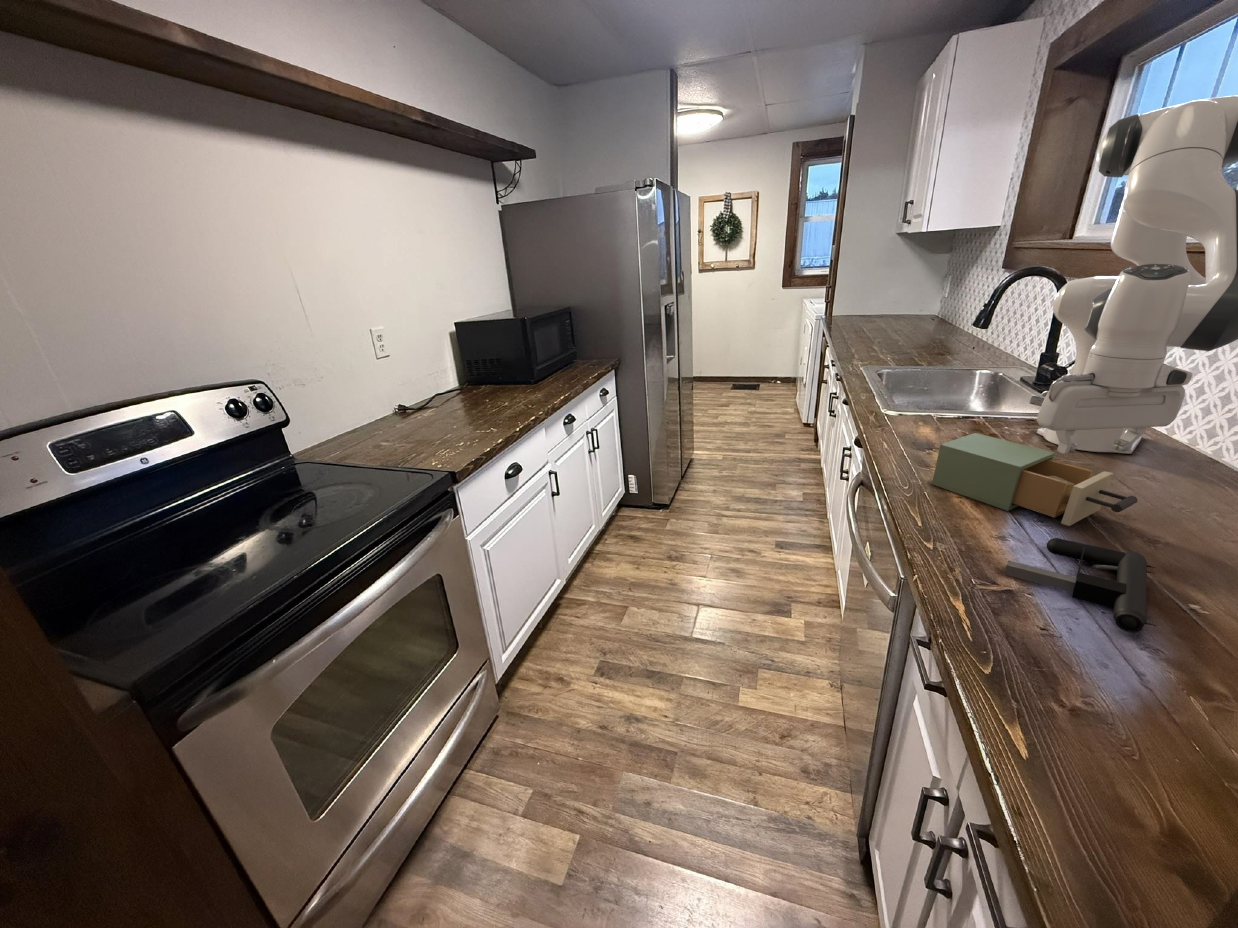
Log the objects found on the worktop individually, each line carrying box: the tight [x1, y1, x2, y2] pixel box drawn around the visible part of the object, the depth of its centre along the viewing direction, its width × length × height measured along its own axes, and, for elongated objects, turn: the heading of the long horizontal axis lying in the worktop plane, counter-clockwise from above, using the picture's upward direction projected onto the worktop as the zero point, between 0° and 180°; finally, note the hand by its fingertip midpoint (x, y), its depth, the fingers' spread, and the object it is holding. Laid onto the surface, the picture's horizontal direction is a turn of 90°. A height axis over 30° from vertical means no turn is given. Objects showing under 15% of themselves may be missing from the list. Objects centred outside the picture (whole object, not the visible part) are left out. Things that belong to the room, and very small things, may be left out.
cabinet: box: [931, 432, 1056, 512], centre depth 101 cm, size 15×13×9 cm
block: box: [1047, 476, 1075, 504], centre depth 92 cm, size 4×4×4 cm
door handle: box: [1004, 537, 1157, 633], centre depth 73 cm, size 3×20×16 cm
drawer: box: [1012, 459, 1138, 527], centre depth 91 cm, size 18×11×7 cm, turn 28°
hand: (1092, 451), depth 86 cm, fingers open, 8 cm apart
